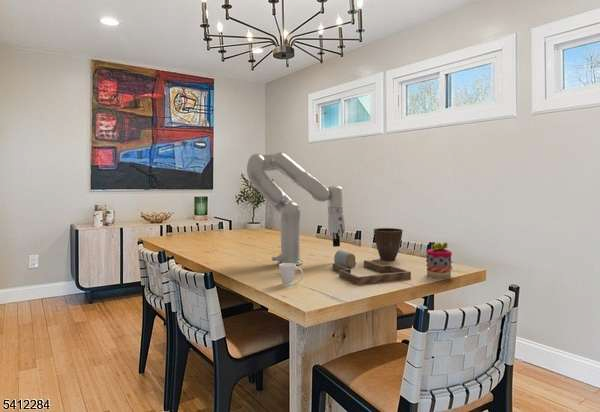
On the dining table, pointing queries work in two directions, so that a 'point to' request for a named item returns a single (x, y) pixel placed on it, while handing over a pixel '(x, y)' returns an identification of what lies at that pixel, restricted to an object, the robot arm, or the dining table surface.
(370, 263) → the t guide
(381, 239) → the plant pot
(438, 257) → the cake
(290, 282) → the cup
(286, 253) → the robot arm
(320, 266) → the dining table surface
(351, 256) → the ceramic mug
